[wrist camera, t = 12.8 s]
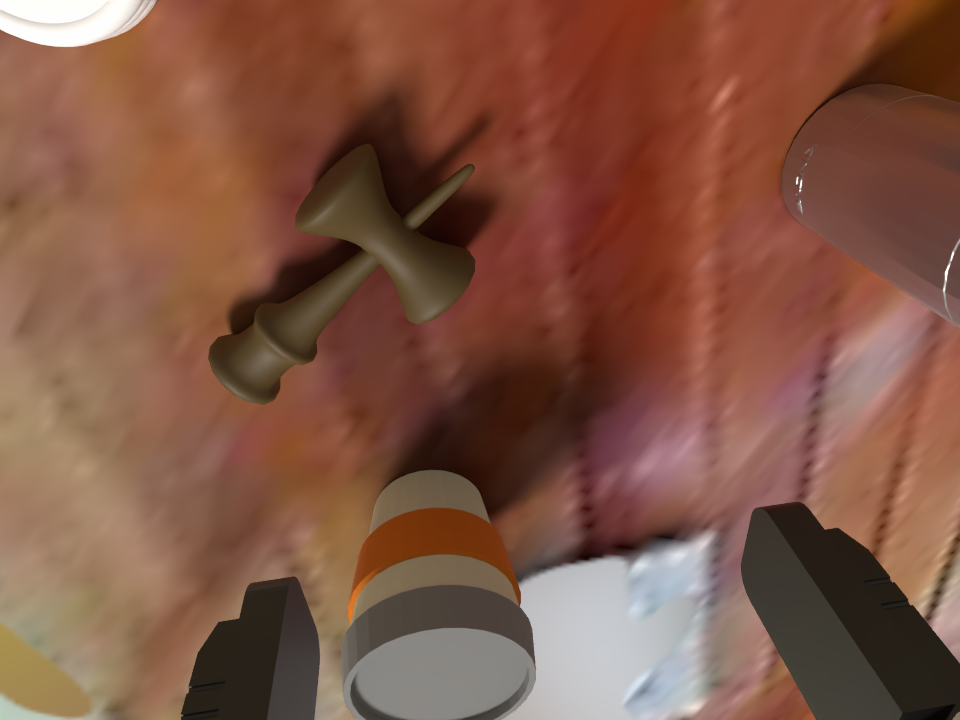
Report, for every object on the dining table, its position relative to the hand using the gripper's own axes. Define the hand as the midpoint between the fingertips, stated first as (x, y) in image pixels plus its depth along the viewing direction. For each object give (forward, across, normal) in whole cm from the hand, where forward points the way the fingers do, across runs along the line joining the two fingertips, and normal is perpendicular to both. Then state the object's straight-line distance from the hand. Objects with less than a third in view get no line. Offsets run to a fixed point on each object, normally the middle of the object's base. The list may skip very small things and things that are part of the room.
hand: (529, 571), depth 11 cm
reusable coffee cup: (+30, +4, +29) cm, 42 cm away
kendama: (+31, +6, +6) cm, 32 cm away
